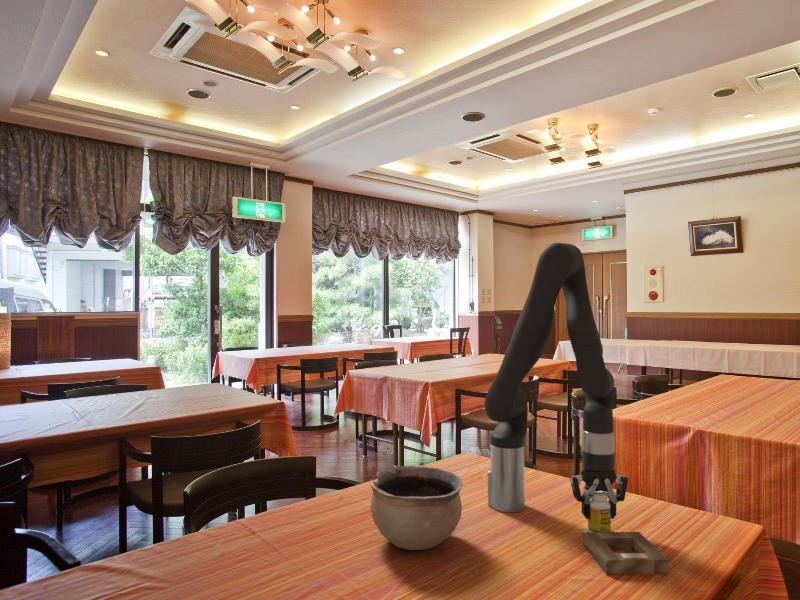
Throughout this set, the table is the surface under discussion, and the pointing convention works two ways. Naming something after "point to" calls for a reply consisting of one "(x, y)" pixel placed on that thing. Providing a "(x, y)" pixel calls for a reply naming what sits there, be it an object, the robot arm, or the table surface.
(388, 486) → the ceramic bowl
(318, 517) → the table surface
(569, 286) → the robot arm
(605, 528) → the supplement bottle
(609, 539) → the socket holder
